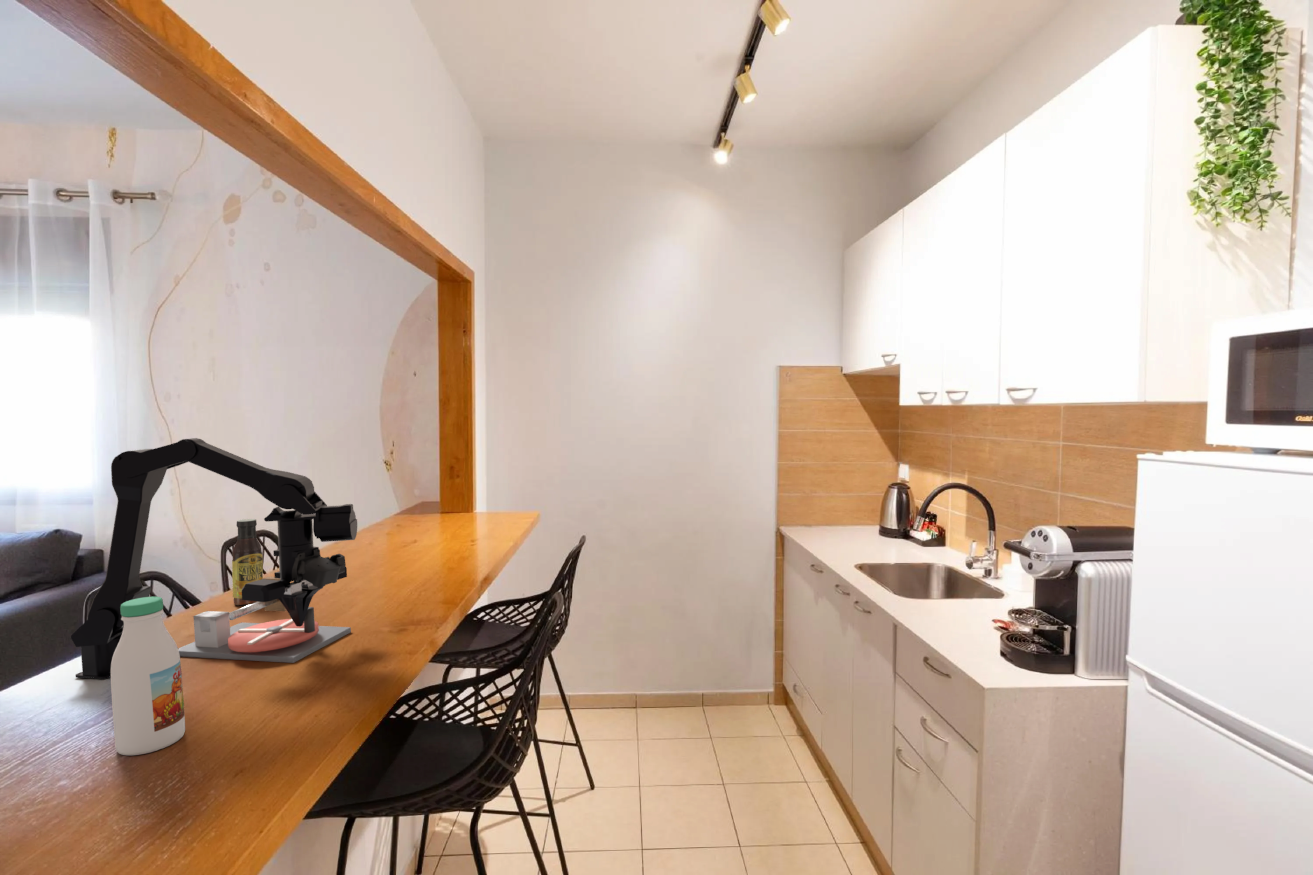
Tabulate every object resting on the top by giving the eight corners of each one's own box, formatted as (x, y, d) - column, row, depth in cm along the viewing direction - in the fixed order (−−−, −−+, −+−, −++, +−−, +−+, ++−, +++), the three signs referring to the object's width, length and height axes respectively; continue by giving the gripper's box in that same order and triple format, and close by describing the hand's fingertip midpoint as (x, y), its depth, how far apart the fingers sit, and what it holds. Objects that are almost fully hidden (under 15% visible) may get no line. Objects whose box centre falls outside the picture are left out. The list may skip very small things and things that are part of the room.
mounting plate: (293, 662, 119) (291, 625, 118) (172, 655, 124) (170, 619, 124) (350, 632, 135) (349, 598, 134) (241, 626, 140) (239, 594, 139)
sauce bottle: (239, 608, 153) (234, 523, 152) (228, 603, 157) (223, 521, 156) (269, 600, 158) (264, 519, 157) (258, 596, 162) (253, 516, 161)
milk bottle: (129, 763, 86) (119, 612, 85) (105, 748, 90) (95, 604, 89) (196, 736, 92) (186, 596, 91) (171, 723, 97) (161, 589, 95)
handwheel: (290, 652, 118) (288, 621, 118) (208, 652, 119) (206, 621, 119) (336, 623, 133) (334, 596, 133) (263, 624, 134) (261, 597, 134)
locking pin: (242, 628, 131) (240, 594, 130) (221, 627, 132) (218, 593, 131) (290, 608, 143) (288, 577, 143) (270, 608, 144) (268, 576, 144)
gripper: (286, 556, 111) (290, 647, 112) (367, 535, 129) (370, 614, 130) (237, 552, 115) (241, 641, 116) (323, 533, 133) (326, 610, 133)
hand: (299, 625), depth 123 cm, fingers closed
